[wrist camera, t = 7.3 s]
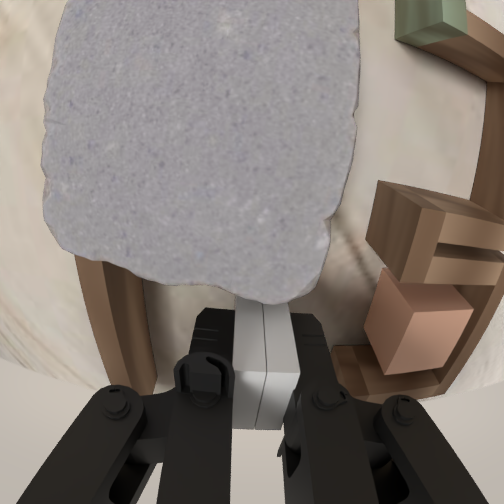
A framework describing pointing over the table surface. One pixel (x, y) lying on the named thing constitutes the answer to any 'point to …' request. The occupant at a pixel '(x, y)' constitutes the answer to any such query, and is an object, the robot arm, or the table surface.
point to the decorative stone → (202, 138)
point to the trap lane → (374, 234)
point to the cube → (414, 323)
